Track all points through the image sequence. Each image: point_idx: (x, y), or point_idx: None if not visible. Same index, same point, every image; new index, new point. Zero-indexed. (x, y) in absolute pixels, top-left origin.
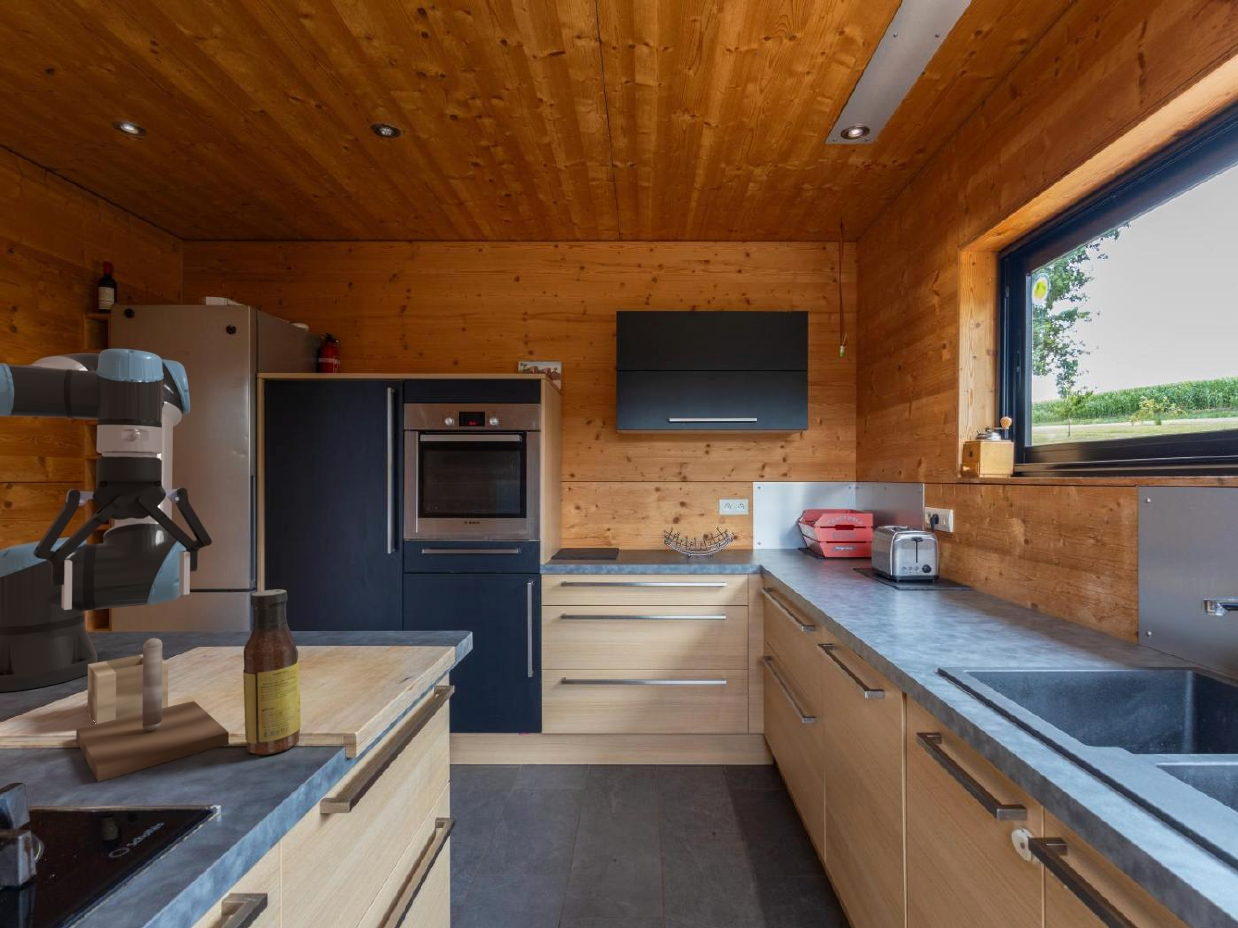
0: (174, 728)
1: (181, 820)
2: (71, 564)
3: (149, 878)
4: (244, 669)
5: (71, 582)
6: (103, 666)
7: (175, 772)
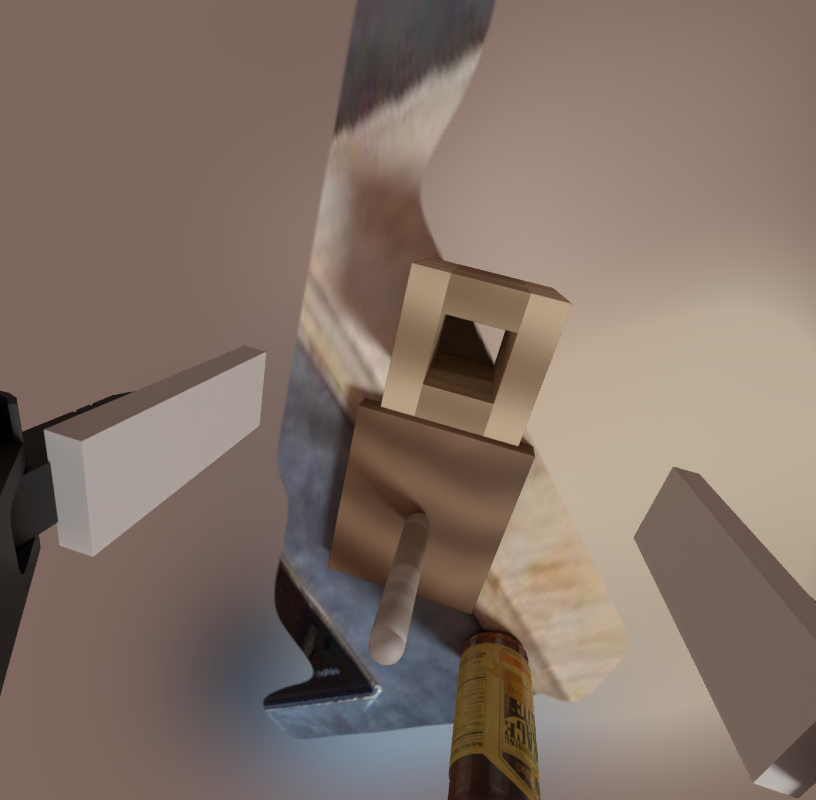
0: (440, 540)
1: (349, 681)
2: (106, 543)
3: (303, 714)
4: (455, 765)
5: (187, 479)
6: (424, 326)
7: None
